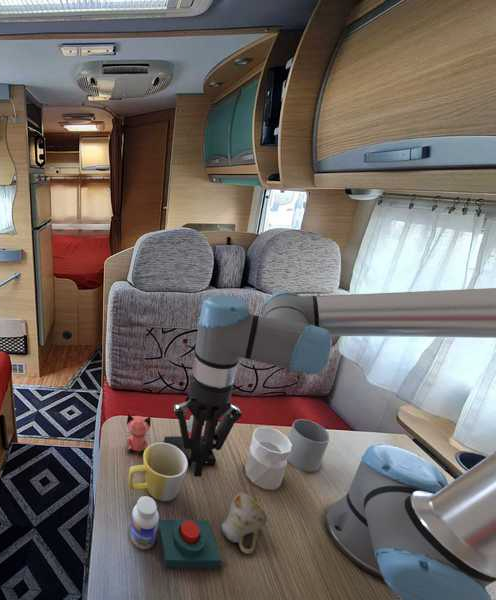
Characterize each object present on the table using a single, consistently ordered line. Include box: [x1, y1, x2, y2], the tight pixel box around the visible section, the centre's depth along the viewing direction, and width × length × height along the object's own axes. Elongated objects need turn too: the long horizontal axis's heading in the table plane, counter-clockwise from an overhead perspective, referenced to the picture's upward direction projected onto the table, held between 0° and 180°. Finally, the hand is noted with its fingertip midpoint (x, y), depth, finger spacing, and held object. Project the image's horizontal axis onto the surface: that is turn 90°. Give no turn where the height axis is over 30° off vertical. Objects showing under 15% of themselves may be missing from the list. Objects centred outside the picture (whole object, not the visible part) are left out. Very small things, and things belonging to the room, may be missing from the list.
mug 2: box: [221, 492, 268, 555], centre depth 71 cm, size 8×10×10 cm
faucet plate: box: [163, 435, 217, 467], centre depth 91 cm, size 12×11×3 cm
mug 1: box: [127, 442, 189, 502], centre depth 79 cm, size 14×10×10 cm
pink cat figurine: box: [126, 413, 151, 456], centre depth 90 cm, size 7×7×12 cm
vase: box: [244, 426, 292, 491], centre depth 83 cm, size 9×9×12 cm
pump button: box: [180, 520, 199, 544], centre depth 67 cm, size 4×4×2 cm
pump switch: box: [157, 517, 222, 568], centre depth 68 cm, size 11×8×4 cm
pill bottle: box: [130, 495, 160, 550], centre depth 69 cm, size 5×5×10 cm
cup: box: [287, 418, 331, 473], centre depth 89 cm, size 8×8×10 cm
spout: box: [182, 414, 194, 459], centre depth 89 cm, size 8×3×8 cm, turn 152°
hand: (196, 471), depth 69 cm, fingers closed
